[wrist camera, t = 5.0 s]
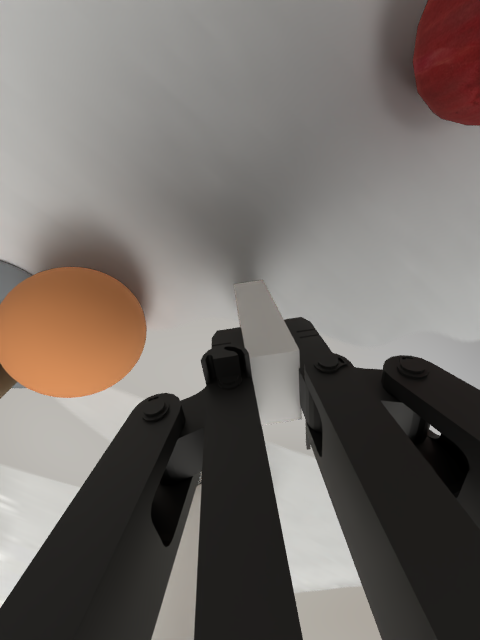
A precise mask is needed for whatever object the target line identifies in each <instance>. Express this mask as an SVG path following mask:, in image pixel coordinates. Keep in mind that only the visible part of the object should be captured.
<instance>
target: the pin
mask: <svg viewBox="0 0 480 640" xmlns="http://www.w3.org/2000/svg"><path fill="white" fill-rule="evenodd" d="M16 383H17V381H16V380H15V379H13V378H12V377H11V376H10V375H9V374H8V373H7V372H6V371H5V369H4V368H3V367H2V365H1V364H0V398H1V397H2V396H3V395H5V394H6V392H8V391H9V389H11V388H12V387H13V386H14V385H15V384H16Z"/></svg>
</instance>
